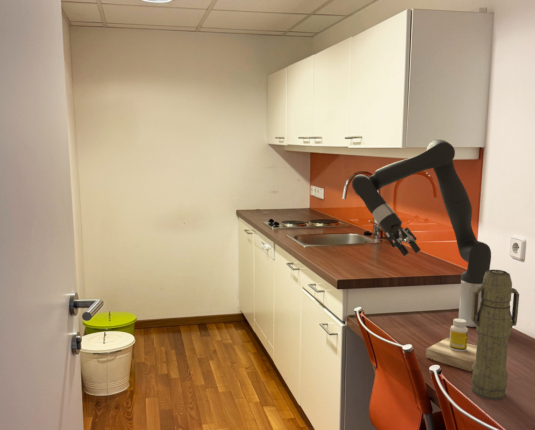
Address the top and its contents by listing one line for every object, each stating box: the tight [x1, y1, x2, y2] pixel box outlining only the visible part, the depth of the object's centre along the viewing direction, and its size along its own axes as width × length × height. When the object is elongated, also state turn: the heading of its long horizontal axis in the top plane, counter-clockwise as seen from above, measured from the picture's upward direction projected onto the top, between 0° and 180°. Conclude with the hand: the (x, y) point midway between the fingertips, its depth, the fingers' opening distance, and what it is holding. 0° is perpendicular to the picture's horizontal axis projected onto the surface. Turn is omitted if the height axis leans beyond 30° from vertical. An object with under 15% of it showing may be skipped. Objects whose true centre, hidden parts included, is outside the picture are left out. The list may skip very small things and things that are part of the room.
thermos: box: [471, 269, 520, 401], centre depth 145 cm, size 9×12×35 cm
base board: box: [425, 337, 477, 372], centre depth 172 cm, size 15×15×3 cm
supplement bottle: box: [449, 318, 469, 352], centre depth 171 cm, size 5×5×10 cm
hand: (412, 253), depth 190 cm, fingers open, 8 cm apart
